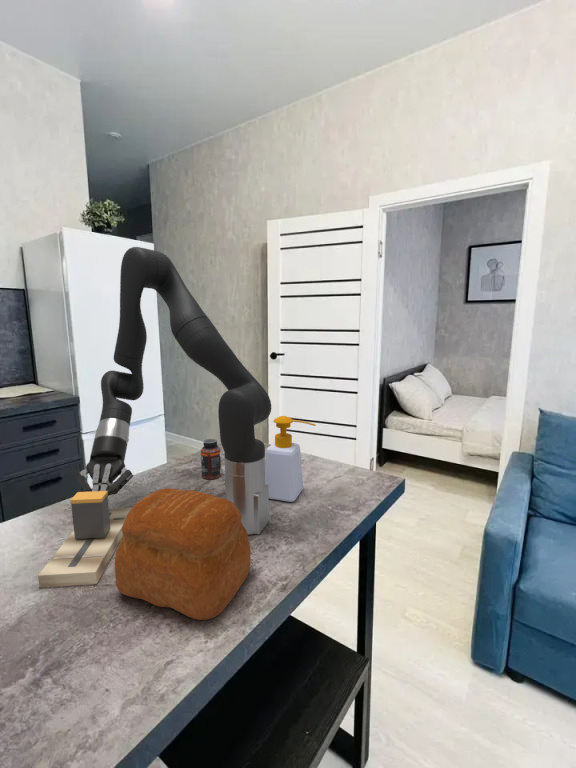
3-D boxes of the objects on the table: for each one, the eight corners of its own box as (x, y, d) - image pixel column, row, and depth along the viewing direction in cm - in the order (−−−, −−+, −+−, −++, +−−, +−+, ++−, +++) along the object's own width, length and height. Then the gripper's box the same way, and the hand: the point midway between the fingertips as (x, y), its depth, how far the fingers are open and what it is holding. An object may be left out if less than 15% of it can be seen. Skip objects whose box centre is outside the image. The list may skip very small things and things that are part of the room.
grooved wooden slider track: (90, 519, 95) (89, 509, 94) (133, 517, 96) (132, 507, 95) (39, 587, 71) (37, 575, 71) (96, 584, 72) (95, 571, 72)
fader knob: (81, 529, 85) (77, 492, 83) (110, 528, 86) (107, 490, 84) (74, 539, 81) (70, 500, 80) (105, 537, 82) (101, 498, 80)
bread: (168, 545, 85) (164, 471, 82) (258, 568, 77) (257, 488, 74) (104, 599, 69) (96, 511, 65) (210, 636, 61) (206, 537, 58)
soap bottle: (310, 507, 101) (311, 424, 97) (260, 498, 105) (259, 419, 101) (319, 491, 110) (320, 414, 106) (273, 484, 114) (273, 410, 110)
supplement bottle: (225, 474, 121) (224, 439, 119) (214, 481, 116) (212, 445, 114) (209, 470, 124) (208, 436, 122) (197, 477, 119) (196, 442, 117)
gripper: (76, 435, 91) (57, 509, 81) (135, 433, 93) (122, 506, 83) (88, 448, 97) (71, 519, 88) (142, 447, 99) (132, 516, 89)
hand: (96, 513), depth 85 cm, fingers closed
